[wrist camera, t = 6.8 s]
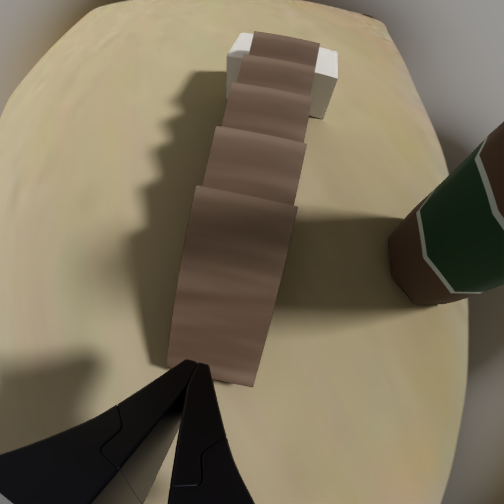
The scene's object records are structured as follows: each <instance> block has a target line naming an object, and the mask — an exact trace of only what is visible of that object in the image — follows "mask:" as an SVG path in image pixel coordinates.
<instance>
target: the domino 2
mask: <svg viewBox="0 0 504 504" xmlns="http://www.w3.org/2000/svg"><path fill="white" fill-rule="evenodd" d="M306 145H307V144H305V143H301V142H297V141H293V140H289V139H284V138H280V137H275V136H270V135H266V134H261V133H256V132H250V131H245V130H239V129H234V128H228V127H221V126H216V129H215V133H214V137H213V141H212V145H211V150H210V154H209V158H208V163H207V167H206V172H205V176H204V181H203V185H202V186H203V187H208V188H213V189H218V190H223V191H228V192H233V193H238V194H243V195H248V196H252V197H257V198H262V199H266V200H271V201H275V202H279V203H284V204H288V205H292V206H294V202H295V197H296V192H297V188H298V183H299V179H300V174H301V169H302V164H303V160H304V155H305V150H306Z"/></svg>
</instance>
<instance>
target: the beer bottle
mask: <svg viewBox="0 0 504 504" xmlns="http://www.w3.org/2000/svg"><path fill="white" fill-rule="evenodd" d="M388 243H389V253H390V264H391V276H392V277H393V278H394V280H395V281H396V282H397V283H398V284H399V286H400V287H401V288H402V289H403V290H404V291H405V293H406V294H407V295H408V296H409V298H410V299H411V300H412V301H413V302H414V303H415V304H446V303H450V302H455V301H459V300H462V299H465V298H468V297H471V296H473V295H476V294H479V293H482V292H485V291H487V290H490V289H493V288H495V287H498V286H501V285H503V284H504V122H503V123H502V124H501V125H500V126H499V127H498V128H497V129H495V130H494V131H493V132H492V133H491V134H489V135H488V136H487V138H486V139H485V140H484V141H483V142H482V143H481V144H480V145H479V146H478V147H477V148H476V149H475V150H474V151H473V152H472V153H471V154H470V155H469V156H468V157H467V158H466V159H465V160H464V161H463V162H462V163H461V164H460V165H459V166H458V167H457V168H456V169H455V170H454V171H453V172H452V173H451V174H450V175H449V176H448V177H447V178H446V179H445V180H444V181H443V182H442V183H441V184H440V185H439V186H438V187H437V188H435V189H434V190H433V191H432V192H431V193H430V194H429V195H428V196H427V197H426V198H425V199H424V200H422V201H421V202H420V203H419V204H418V205H417V206H416V207H415V208H414V209H413V210H412V211H411V212H410V213H409V214H408V216H407V217H406V218H405V219H404V220H403V221H402V223H401V224H400V225H399V226H398V227H397V228H396V230H395V231H394V232H393V233H392V234H391V235H390V237H389V239H388Z"/></svg>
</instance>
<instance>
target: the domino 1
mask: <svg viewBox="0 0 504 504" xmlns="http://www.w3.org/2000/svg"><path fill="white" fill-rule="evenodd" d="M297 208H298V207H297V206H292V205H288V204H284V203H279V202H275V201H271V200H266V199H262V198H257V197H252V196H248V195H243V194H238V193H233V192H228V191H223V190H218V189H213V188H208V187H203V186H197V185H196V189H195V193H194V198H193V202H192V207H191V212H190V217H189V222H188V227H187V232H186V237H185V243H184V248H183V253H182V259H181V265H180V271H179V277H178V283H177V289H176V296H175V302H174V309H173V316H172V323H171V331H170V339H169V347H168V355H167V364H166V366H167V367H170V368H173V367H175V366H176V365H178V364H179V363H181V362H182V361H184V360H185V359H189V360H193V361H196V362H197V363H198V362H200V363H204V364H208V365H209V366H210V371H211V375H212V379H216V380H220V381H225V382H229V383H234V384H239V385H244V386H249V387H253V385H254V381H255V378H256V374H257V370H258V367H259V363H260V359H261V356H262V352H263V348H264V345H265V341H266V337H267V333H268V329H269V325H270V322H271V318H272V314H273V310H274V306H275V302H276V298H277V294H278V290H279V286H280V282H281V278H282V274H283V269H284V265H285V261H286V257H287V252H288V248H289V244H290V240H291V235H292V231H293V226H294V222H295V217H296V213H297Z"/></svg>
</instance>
